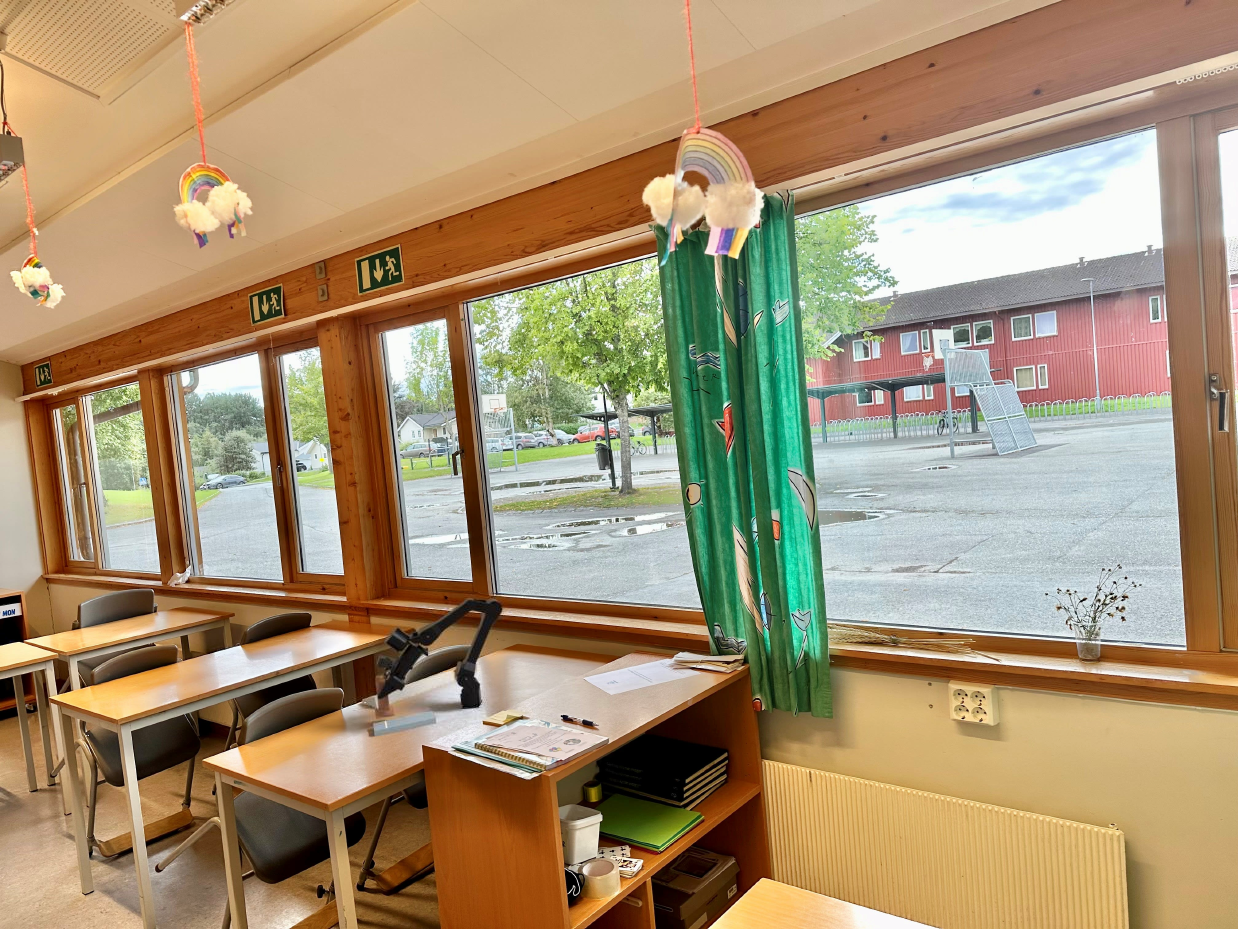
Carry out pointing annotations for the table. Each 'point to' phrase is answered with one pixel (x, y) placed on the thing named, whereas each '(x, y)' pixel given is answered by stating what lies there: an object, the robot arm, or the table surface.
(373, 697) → the decorative molding
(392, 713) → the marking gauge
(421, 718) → the board
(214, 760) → the table surface
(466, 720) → the table surface
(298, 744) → the table surface
